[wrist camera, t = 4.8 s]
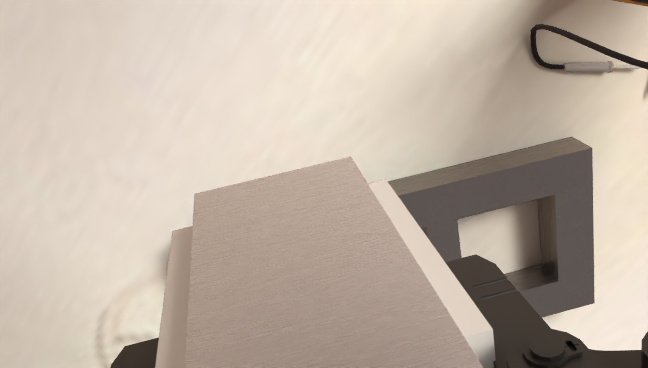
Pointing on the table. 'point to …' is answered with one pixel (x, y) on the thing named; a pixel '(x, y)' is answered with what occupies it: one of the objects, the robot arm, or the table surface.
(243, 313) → the grey tall block
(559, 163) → the grey flat frame
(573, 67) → the multimeter
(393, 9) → the table surface
